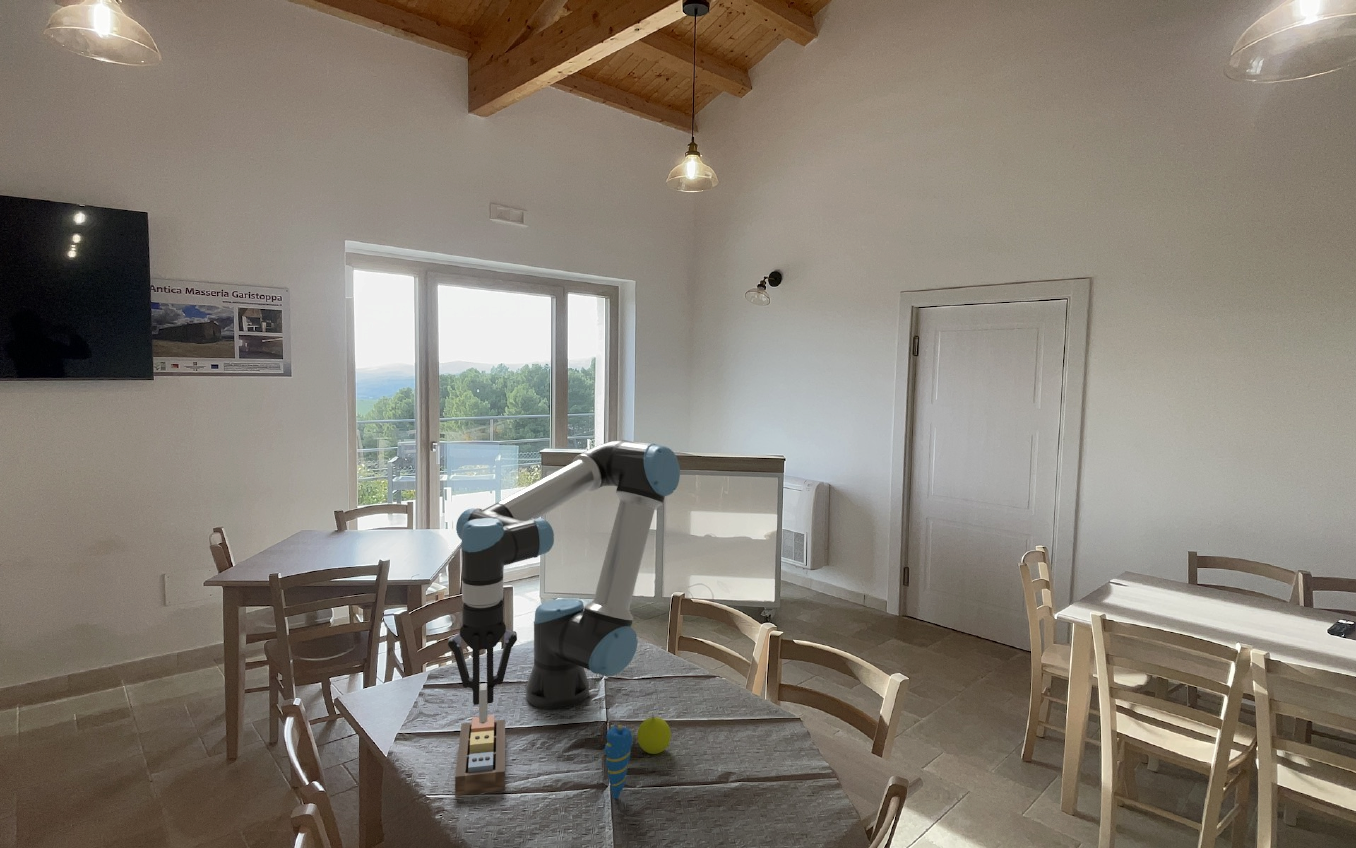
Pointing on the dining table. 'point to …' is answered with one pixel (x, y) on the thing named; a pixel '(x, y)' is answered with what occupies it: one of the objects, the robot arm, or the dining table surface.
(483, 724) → the tile one
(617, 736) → the ornament
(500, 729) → the key strip
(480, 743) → the tile two
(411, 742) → the dining table surface
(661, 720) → the yellow pointed oval
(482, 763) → the tile three
